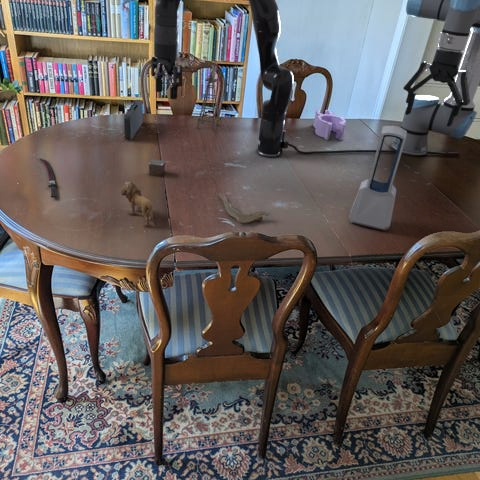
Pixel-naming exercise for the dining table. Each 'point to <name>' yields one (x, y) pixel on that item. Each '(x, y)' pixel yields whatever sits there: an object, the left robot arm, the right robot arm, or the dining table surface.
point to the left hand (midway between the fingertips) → (166, 95)
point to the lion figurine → (137, 201)
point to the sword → (52, 181)
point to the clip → (329, 124)
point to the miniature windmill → (210, 80)
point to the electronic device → (378, 189)
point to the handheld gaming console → (133, 119)
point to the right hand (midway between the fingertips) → (427, 119)
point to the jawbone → (239, 215)
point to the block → (156, 167)
